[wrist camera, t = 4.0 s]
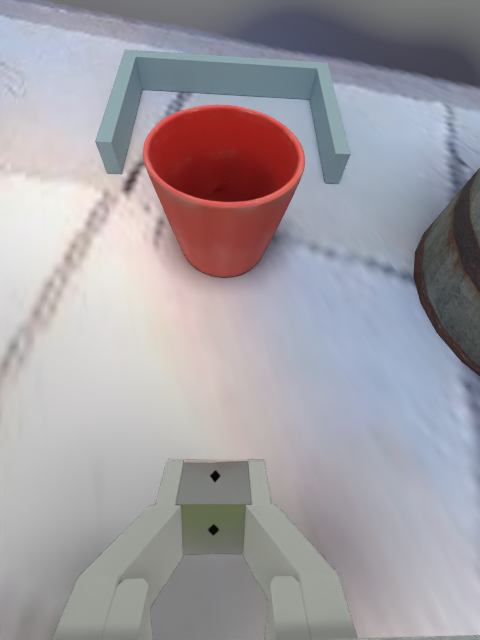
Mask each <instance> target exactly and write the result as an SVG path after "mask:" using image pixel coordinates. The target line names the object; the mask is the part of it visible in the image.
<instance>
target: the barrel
mask: <svg viewBox="0 0 480 640" xmlns="http://www.w3.org/2000/svg"><path fill="white" fill-rule="evenodd" d="M414 279H415V283H416V287H417V291H418V295H419V299H420V303H421V305H422V306H423V308H424V310H425V312H426V314H427V316H428V317H429V319H430V321H431V323H432V325H433V327H434V328H435V330H436V332H437V333H438V334H439V336H440V337H441V338H442V339H443V340H444V342H445V343H446V344H447V345H448V346H449V347H450V349H451V350H452V351H453V352H454V353H455V354H456V356H457V357H458V358H459V359H460V360H461V361H462V362H463V363H464V364H465V365H467V366H468V367H469V368H470V369H471V370H473V371H474V372H475V373H476V374H478V375H479V376H480V168H479V169H478V171H477V172H476V173H475V174H474V175H473V176H472V178H471V179H470V180H469V181H468V182H467V183H466V185H465V186H464V187H463V188H462V189H461V191H460V192H459V193H458V194H457V195H456V196H455V198H454V199H453V200H452V201H451V202H450V203H449V205H448V206H447V207H446V208H445V209H444V210H443V212H442V213H441V214H440V215H439V216H438V218H437V219H436V220H435V221H434V222H433V223H432V225H431V226H430V227H429V228H428V229H427V230H426V232H425V233H424V234H423V236H422V239H421V241H420V243H419V245H418V247H417V249H416V252H415V262H414Z"/></svg>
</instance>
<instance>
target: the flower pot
mask: <svg viewBox="0 0 480 640" xmlns="http://www.w3.org/2000/svg"><path fill="white" fill-rule="evenodd" d="M143 159H144V163H145V166H146V169H147V172H148V174H149V177H150V179H151V181H152V184H153V186H154V188H155V191H156V193H157V195H158V197H159V200H160V202H161V204H162V207H163V209H164V211H165V214H166V216H167V218H168V221H169V223H170V225H171V228H172V230H173V232H174V234H175V236H176V238H177V241H178V243H179V245H180V247H181V249H182V251H183V253H184V255H185V256H186V258H187V260H188V261H189V262H190V263H191V264H192V265H193V266H194V267H195V268H196V269H198V270H200V271H202V272H204V273H206V274H209V275H212V276H218V277H231V276H236V275H240V274H243V273H245V272H247V271H249V270H250V269H251V268H253V267H254V266H255V265H256V264H257V263H258V262H259V260H260V259H261V257H262V255H263V253H264V252H265V250H266V248H267V246H268V244H269V243H270V241H271V239H272V237H273V235H274V233H275V231H276V229H277V227H278V225H279V223H280V221H281V219H282V217H283V215H284V213H285V211H286V209H287V207H288V205H289V203H290V201H291V199H292V197H293V195H294V193H295V190H296V188H297V186H298V184H299V181H300V179H301V176H302V174H303V171H304V166H305V156H304V151H303V148H302V146H301V144H300V142H299V141H298V139H297V137H296V136H295V135H294V134H293V133H292V132H291V131H290V130H289V129H288V128H287V127H286V126H284V125H283V124H282V123H280V122H279V121H277V120H275V119H274V118H272V117H270V116H268V115H266V114H263V113H261V112H258V111H255V110H251V109H247V108H243V107H238V106H231V105H207V106H199V107H194V108H189V109H186V110H182V111H180V112H177V113H174V114H172V115H170V116H168V117H166V118H165V119H163V120H161V121H160V122H159V123H158V124H157V125H156V126H155V127H154V128H153V129H152V130H151V131H150V133H149V134H148V136H147V138H146V140H145V143H144V148H143Z"/></svg>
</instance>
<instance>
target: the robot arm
mask: <svg viewBox="0 0 480 640" xmlns="http://www.w3.org/2000/svg"><path fill="white" fill-rule="evenodd" d="M196 554H243V556H244V558H245V560H246V562H247V564H248V565H249V567H250V569H251V571H252V572H253V574H254V576H255V578H256V580H257V581H258V583H259V585H260V587H261V589H262V590H263V592H264V594H265V596H266V597H267V599H268V611H267V620H266V630H265V639H264V640H480V635H467V636H429V637H391V638H357V635H356V631H355V628H354V625H353V622H352V618H351V615H350V612H349V609H348V605H347V602H346V599H345V596H344V592H343V589H342V586H341V583H340V579H339V576H338V574H337V573H336V571H335V570H334V569H333V568H332V567H331V566H330V565H329V564H328V562H327V561H326V560H325V559H324V558H323V557H322V556H321V555H320V553H319V552H318V551H317V550H316V549H315V548H314V547H313V546H312V544H311V543H310V542H309V541H308V540H307V539H306V538H305V536H304V535H303V534H302V533H301V532H300V531H299V530H298V529H297V527H296V526H295V525H294V524H293V523H292V522H291V521H290V520H289V518H288V517H287V516H286V515H285V514H284V513H283V512H282V511H281V509H280V508H279V507H278V506H277V505H271V499H270V492H269V486H268V479H267V473H266V466H265V461H264V460H263V459H248V460H196V459H185V460H181V459H168V460H167V462H166V465H165V469H164V473H163V477H162V481H161V485H160V489H159V493H158V496H157V500H156V504H155V505H150V506H149V507H148V508H147V509H146V510H145V511H144V512H143V513H142V514H141V515H140V516H139V517H138V518H137V519H136V520H135V521H134V522H133V523H132V524H131V525H130V526H129V527H128V528H127V529H126V530H125V531H124V532H123V533H122V534H121V535H120V536H119V537H118V538H117V539H116V540H115V541H114V542H113V543H112V544H111V545H110V546H109V547H108V548H107V549H106V550H105V551H104V552H103V553H102V554H101V555H100V556H99V557H98V558H97V559H96V560H95V561H94V562H93V563H92V564H91V565H90V566H89V567H88V568H87V569H86V570H85V571H84V572H83V573H82V574H81V575H80V576H79V577H78V578H77V581H76V583H75V585H74V588H73V590H72V593H71V595H70V597H69V600H68V602H67V604H66V607H65V609H64V611H63V614H62V616H61V619H60V621H59V623H58V626H57V628H56V630H55V633H54V635H53V638H52V640H153V636H152V624H151V611H150V607H151V606H152V604H153V603H154V601H155V600H156V598H157V596H158V595H159V593H160V592H161V590H162V589H163V587H164V586H165V584H166V582H167V581H168V579H169V578H170V576H171V575H172V573H173V572H174V570H175V569H176V567H177V565H178V564H179V562H180V561H181V559H182V558H183V555H196Z"/></svg>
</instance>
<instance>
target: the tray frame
mask: <svg viewBox="0 0 480 640" xmlns="http://www.w3.org/2000/svg"><path fill="white" fill-rule="evenodd" d="M142 89H143V90H159V91H176V92H193V93H210V94H227V95H243V96H260V97H277V98H294V99H310V104H311V109H312V115H313V120H314V125H315V131H316V136H317V142H318V147H319V153H320V158H321V164H322V169H323V175H324V180H325V183H335V184H338V183H339V181H340V179H341V176H342V174H343V171H344V169H345V166H346V164H347V161H348V159H349V156H350V151H349V147H348V143H347V139H346V135H345V131H344V127H343V123H342V119H341V115H340V111H339V107H338V103H337V99H336V95H335V91H334V87H333V83H332V79H331V75H330V71H329V67H328V63H320V62H305V61H290V60H275V59H260V58H244V57H229V56H214V55H199V54H184V53H169V52H154V51H139V50H125V51H124V54H123V57H122V60H121V63H120V66H119V69H118V73H117V76H116V79H115V82H114V85H113V88H112V91H111V94H110V97H109V100H108V104H107V107H106V110H105V113H104V116H103V119H102V122H101V125H100V128H99V131H98V135H97V138H96V141H95V142H96V145H97V147H98V150H99V153H100V155H101V158H102V160H103V163H104V166H105V168H106V171H107V173H114V174H122V171H123V167H124V163H125V158H126V154H127V150H128V146H129V142H130V138H131V134H132V130H133V126H134V122H135V118H136V113H137V109H138V105H139V101H140V97H141V93H142Z"/></svg>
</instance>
